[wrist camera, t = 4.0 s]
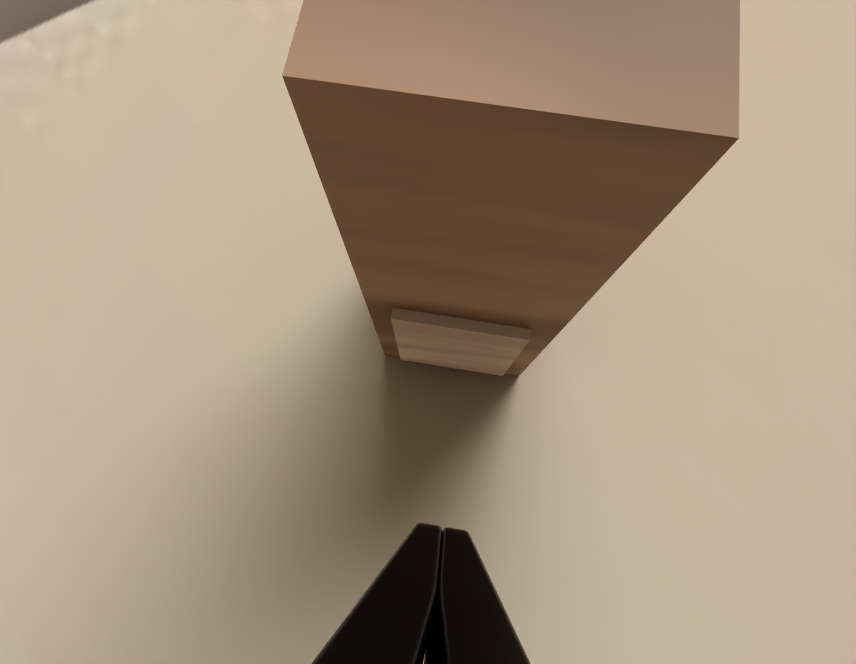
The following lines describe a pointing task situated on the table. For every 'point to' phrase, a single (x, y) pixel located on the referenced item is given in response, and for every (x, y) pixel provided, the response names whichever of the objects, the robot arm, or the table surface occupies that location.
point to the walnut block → (505, 153)
